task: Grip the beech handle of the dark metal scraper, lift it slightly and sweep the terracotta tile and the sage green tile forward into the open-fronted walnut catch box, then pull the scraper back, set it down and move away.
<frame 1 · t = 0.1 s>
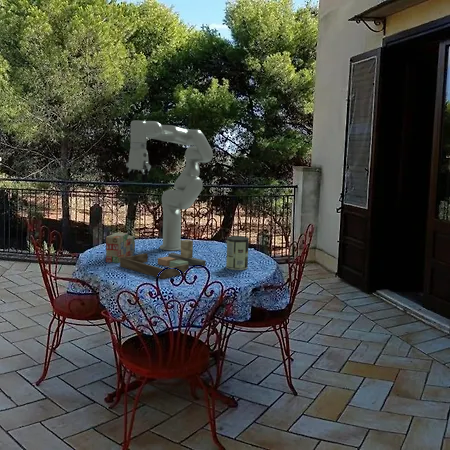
hand: (137, 181, 246), 37 cm above the table, tool pointing down, fingers open, 9 cm apart
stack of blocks: (121, 258, 244), on the table
scraper: (186, 263, 239), on the table
catch box: (154, 269, 224), on the table
tile sage: (178, 267, 230), on the table
coffee can: (236, 267, 234), on the table
tile terracotta: (166, 264, 235), on the table
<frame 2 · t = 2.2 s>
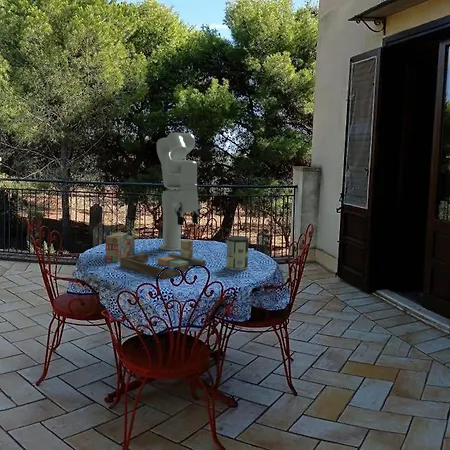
hand: (187, 224, 236), 19 cm above the table, tool pointing down, fingers open, 9 cm apart
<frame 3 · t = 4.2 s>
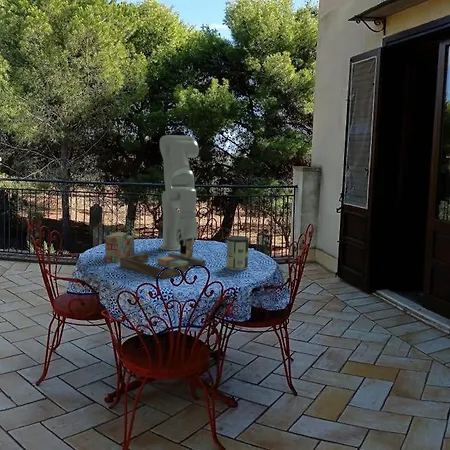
hand: (186, 252, 238), 5 cm above the table, tool pointing down, fingers closed on scraper, 4 cm apart
scraper: (186, 262, 239), on the table, touching gripper
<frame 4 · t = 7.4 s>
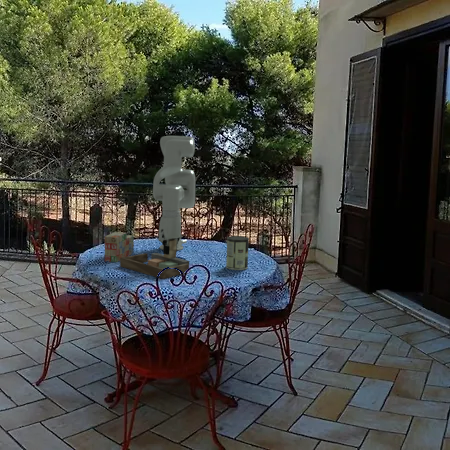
hand: (170, 252, 230), 6 cm above the table, tool pointing down, fingers closed on scraper, 4 cm apart
scraper: (169, 263, 231), point 1 cm above the table, touching gripper
tile sage: (168, 269, 225), on the table
tile terracotta: (157, 266, 230), on the table
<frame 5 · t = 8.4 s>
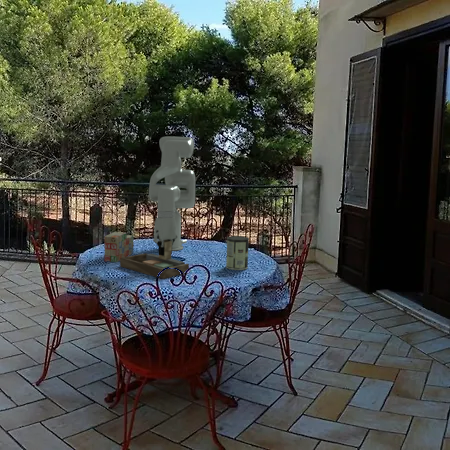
hand: (165, 254, 228), 6 cm above the table, tool pointing down, fingers closed on scraper, 4 cm apart
scraper: (164, 264, 229), point 1 cm above the table, touching gripper, tile sage
tile sage: (163, 271, 223), on the table, touching scraper
tile terracotta: (152, 268, 228), on the table
when the fingers open (5 cm above the table, at t = 11.3 s): scraper stays where it is, on the table.
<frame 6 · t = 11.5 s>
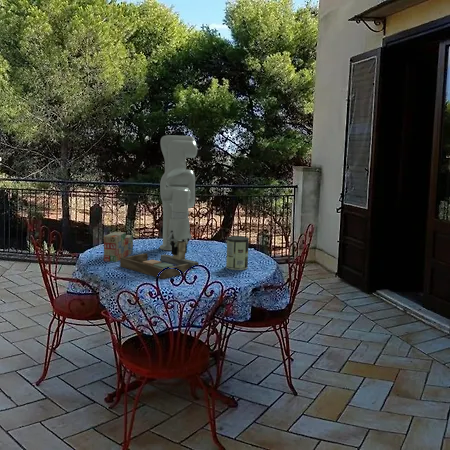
hand: (179, 253, 235), 5 cm above the table, tool pointing down, fingers open, 5 cm apart
scraper: (178, 264, 236), on the table
tile sage: (163, 271, 223), on the table
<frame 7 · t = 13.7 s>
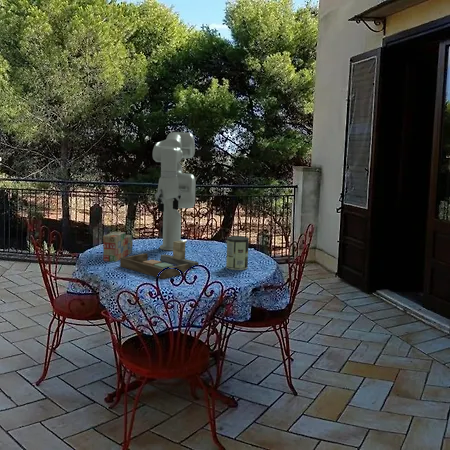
hand: (168, 210, 239), 24 cm above the table, tool pointing down, fingers open, 9 cm apart
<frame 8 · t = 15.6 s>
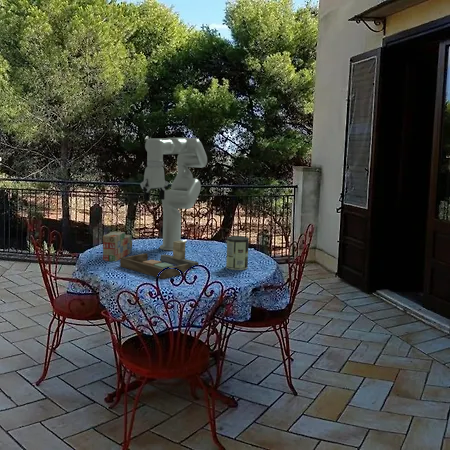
hand: (154, 199, 245), 28 cm above the table, tool pointing down, fingers open, 9 cm apart
at the end: tile terracotta inside the target area on the catch box (4.4 cm from its centre), point 0.0 cm above the catch box's base; tile sage inside the target area on the catch box (4.5 cm from its centre), point 0.0 cm above the catch box's base; the gripper is holding nothing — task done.
